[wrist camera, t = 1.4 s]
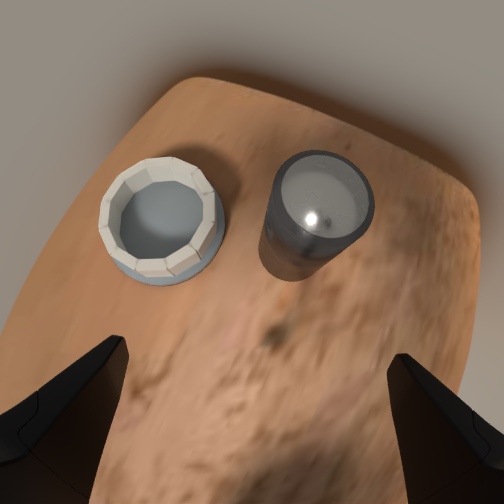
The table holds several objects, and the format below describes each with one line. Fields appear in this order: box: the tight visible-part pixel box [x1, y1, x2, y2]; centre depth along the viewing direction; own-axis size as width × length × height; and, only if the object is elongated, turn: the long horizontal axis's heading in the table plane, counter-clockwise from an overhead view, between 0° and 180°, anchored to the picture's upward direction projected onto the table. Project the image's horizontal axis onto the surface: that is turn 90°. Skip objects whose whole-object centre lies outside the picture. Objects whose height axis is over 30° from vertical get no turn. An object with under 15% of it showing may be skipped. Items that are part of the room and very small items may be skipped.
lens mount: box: [98, 157, 225, 286], centre depth 22 cm, size 10×10×3 cm
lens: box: [259, 150, 375, 282], centre depth 19 cm, size 5×5×10 cm
